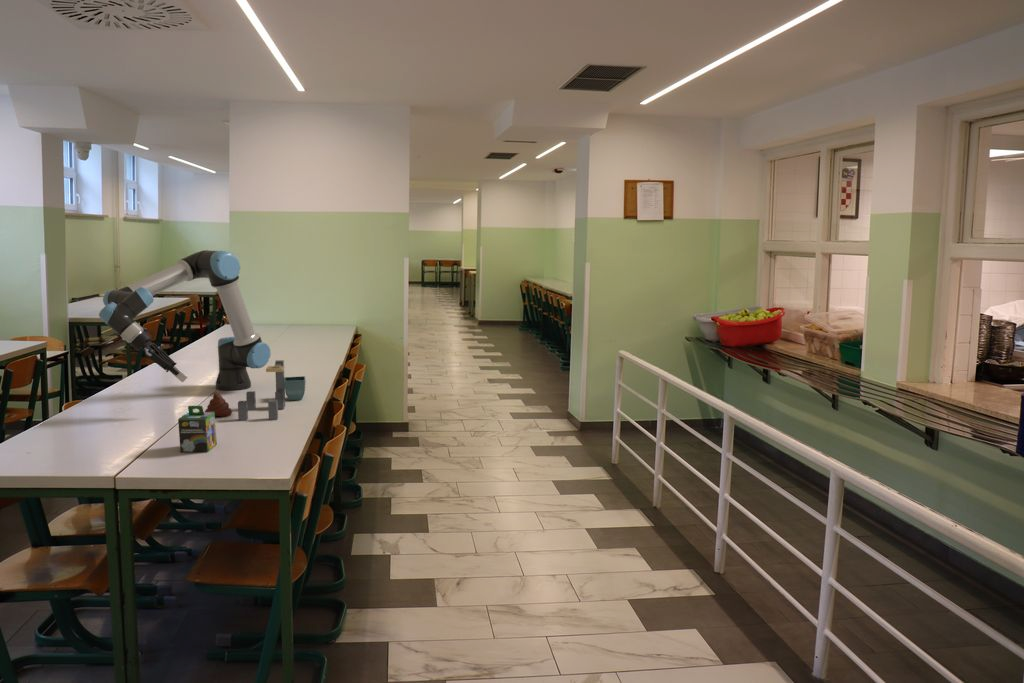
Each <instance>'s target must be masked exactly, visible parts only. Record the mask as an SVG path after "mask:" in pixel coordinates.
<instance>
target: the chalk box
mask: <svg viewBox="0 0 1024 683" xmlns="http://www.w3.org/2000/svg"><path fill="white" fill-rule="evenodd" d="M187 409H188V412H187V413H185V414H183V415H181V416H180V417H179V418H178V420H177V421H178V422H177V423H178V434H179V435H178V436H179V449H180V450H179V451H180V453H209V452H210V451H211V450H212V449H213V448H214V447H215V446H216V445H217V444H218V442H217V431H216V430H217V429H216V427H217V426H216V417H215V412H205V411H204V408H203V406H202V405H188V406H187ZM194 409H196V410H198V411H195V412H194Z"/></svg>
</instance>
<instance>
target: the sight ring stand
mask: <svg viewBox="0 0 1024 683" xmlns="http://www.w3.org/2000/svg"><path fill="white" fill-rule="evenodd" d="M265 373H275V392H276V391H284V409H285V408H286V392H285V379H284V377H285V360H284V359H283V360H279V359H277V360H275V363H274V365H269V366H267V367H266V369H265Z"/></svg>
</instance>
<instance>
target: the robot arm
mask: <svg viewBox="0 0 1024 683" xmlns="http://www.w3.org/2000/svg"><path fill="white" fill-rule="evenodd" d="M240 270H241V263H240V261H239V259H238V257H237V256H236V255H235V253H231V252H229V251H226V250H207V249H206V250H200V251H197V252H194V253H192V254H189V255H187V256H186V257H183V258H181V259H179V260H177V262H176V264H173V265H172V266H171V265H170V266H169V267H167V268H165V269H163V270H160V271H157V272H156V273H153V274H151V275H148V276H147V277H144V278H141V279H139V280H138V281H135V282H133V283H131V284H129V285H126V286H124V287H121V288H119V289H112V290H108V291H106V292H105V293H104V295H103V297H102V302H103V305H104V307H103V308H102V309H101V310H100V311H99V313H98V317H99V318H100V319H101V321H102V322H104V324H106V326H108V327H109V328H111V329H112V330H113V331H114V332H115V333H116V334H118V335H119V336H120V337H121V339H122V341H125V342H127V343H128V344H130V347H132V348H133V349H134V350H135V351H140V350H141V349H142V351H143V353H144V356H145V357H147V358H148V359H150V360H152V361H153V362H154V363H155V364H157V365H158V366H159V367H161V368H162V369H163V370H164V371H165V372H166V373H168V372H170V373H171V374H172V375H173V376H174V377H175V378H176V379H177V380H179V381H180V382H181V383H184V382H185V381H186V380H187V379H188V378H189V376H188V375H187V374H186V373H185V372H184V371H182V370H181V369H180V368H179V367H178V366H177V362H175V361H174V360H173V358H171V357H170V356H169V355H168V354H167V352H166V351H164V350H163V348H162V347H161V345H157V344H156V343H153V342H152V341H151V340H152V339H153V336H152V335H151V334H150V333H149V332H148V331H146V330H145V328H143V326H141V325H140V324H139V323H138V322H137V321H135V319H136V317H137V316H139V315H140V314H141V313H142V312H143V311H145V310H146V309H147V308H149V307H150V306H151V305H152V304H153V303H154V301H155V300H154V296H155V295H156V294H159V293H162V292H163V291H165V290H167V289H169V288H172V287H174V286H176V285H179V284H181V283H183V282H185V281H186V282H191V281H194V280H195V279H208V280H209V283H210V286H211V287H212V288H214V289H216V291H217V294H218V297H219V299H220V301H221V304H222V307H223V310H224V312H225V315H226V317H227V320H228V323H229V326H230V328H231V331H232V333H233V336H228V337H221V338H219V339H218V342H217V352H218V374H217V377H216V380H215V389H217V390H218V391H219V390H220V391H239V390H245V389H249V388H251V387H252V381H251V379H250V375H249V373H248V370H247V368H250V369H261V368H264V367H265V366H266V365H267V364H268V363H269V360H270V358H271V354H272V353H271V351H272V350H271V348H270V346H269V344H267V343H266V342H264V341H262V338H261V336H260V334H259V333H258V332H256V331H255V329H254V326H253V323H252V320H251V316H250V315H249V313H248V312H249V311H248V309H247V307H246V304H245V301H244V298H243V295H242V293H241V290H240V287H239V284H238V281H239V280H240V277H239V274H240Z"/></svg>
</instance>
